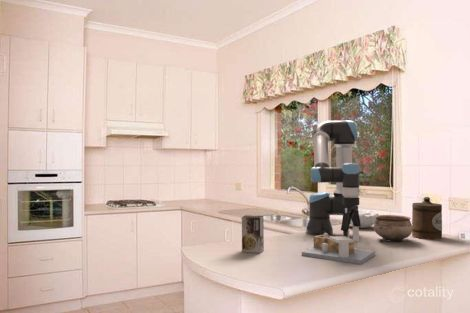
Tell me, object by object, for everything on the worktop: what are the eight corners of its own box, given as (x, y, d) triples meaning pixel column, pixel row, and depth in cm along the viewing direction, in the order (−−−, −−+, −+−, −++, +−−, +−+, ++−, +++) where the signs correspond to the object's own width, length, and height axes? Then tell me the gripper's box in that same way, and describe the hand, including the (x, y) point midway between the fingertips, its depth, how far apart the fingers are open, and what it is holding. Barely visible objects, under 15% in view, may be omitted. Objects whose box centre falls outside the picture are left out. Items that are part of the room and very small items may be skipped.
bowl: (362, 224, 258) (362, 208, 258) (386, 228, 239) (386, 212, 239) (337, 226, 249) (337, 210, 249) (359, 231, 230) (359, 214, 231)
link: (313, 246, 181) (313, 236, 181) (323, 245, 185) (323, 234, 185) (345, 254, 166) (345, 242, 166) (356, 252, 170) (356, 241, 170)
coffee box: (264, 250, 181) (264, 215, 181) (260, 253, 175) (260, 217, 175) (245, 248, 184) (245, 214, 184) (241, 251, 178) (241, 216, 178)
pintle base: (300, 255, 170) (300, 235, 170) (319, 247, 187) (319, 228, 187) (360, 264, 155) (359, 242, 155) (374, 254, 172) (374, 234, 173)
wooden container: (442, 240, 203) (441, 198, 204) (411, 238, 210) (410, 197, 211) (442, 235, 216) (441, 196, 217) (413, 233, 223) (412, 195, 224)
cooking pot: (399, 246, 188) (399, 221, 188) (363, 240, 202) (363, 217, 203) (421, 240, 205) (421, 216, 205) (387, 234, 219) (386, 213, 219)
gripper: (350, 199, 167) (350, 248, 167) (366, 195, 188) (367, 239, 187) (333, 198, 172) (333, 246, 171) (351, 194, 192) (351, 237, 192)
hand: (351, 242), depth 179 cm, fingers open, 13 cm apart
